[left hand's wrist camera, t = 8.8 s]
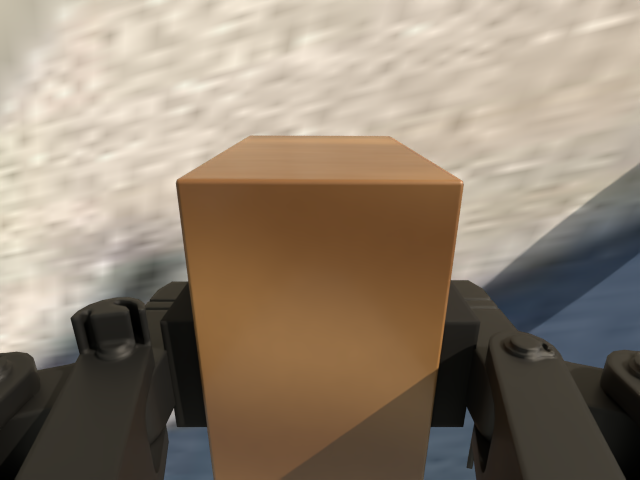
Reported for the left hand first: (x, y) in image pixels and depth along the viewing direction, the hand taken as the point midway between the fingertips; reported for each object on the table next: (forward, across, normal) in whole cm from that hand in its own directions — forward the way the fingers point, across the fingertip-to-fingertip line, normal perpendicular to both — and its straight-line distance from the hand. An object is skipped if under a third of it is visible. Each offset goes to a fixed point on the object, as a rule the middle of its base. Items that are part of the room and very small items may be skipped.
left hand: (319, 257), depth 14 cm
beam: (+1, 0, -33) cm, 33 cm away
